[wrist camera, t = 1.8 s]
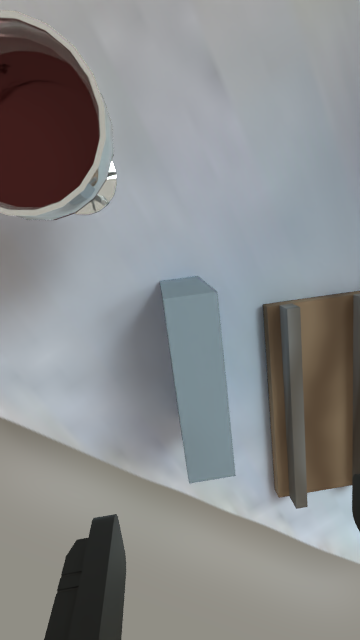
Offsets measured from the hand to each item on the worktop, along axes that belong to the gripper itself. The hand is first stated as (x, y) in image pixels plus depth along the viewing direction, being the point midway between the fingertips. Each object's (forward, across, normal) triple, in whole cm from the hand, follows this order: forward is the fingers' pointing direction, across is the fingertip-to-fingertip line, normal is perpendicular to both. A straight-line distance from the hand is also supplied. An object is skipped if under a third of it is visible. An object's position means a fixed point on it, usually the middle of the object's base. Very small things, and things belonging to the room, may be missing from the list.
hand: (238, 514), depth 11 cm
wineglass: (+17, +6, -14) cm, 23 cm away
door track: (+17, -11, +6) cm, 21 cm away
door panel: (+17, 0, 0) cm, 17 cm away
